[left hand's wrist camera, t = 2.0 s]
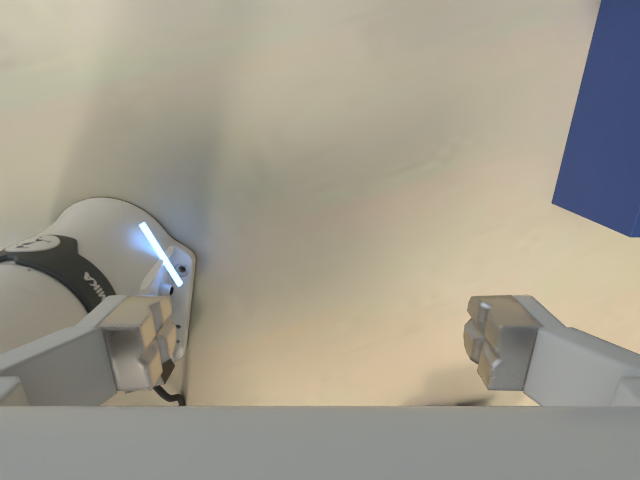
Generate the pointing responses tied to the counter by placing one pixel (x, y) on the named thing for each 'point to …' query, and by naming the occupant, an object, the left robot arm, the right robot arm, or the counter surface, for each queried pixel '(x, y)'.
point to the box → (607, 126)
